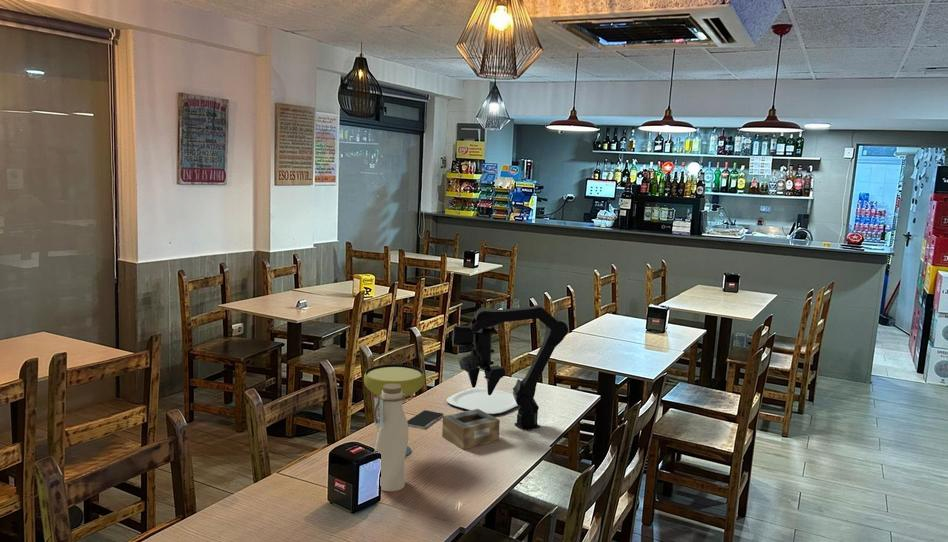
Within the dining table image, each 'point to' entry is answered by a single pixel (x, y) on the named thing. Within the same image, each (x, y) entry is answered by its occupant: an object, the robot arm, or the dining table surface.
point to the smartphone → (424, 419)
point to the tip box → (470, 428)
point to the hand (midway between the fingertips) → (481, 391)
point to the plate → (483, 400)
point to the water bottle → (391, 436)
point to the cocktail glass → (394, 380)
